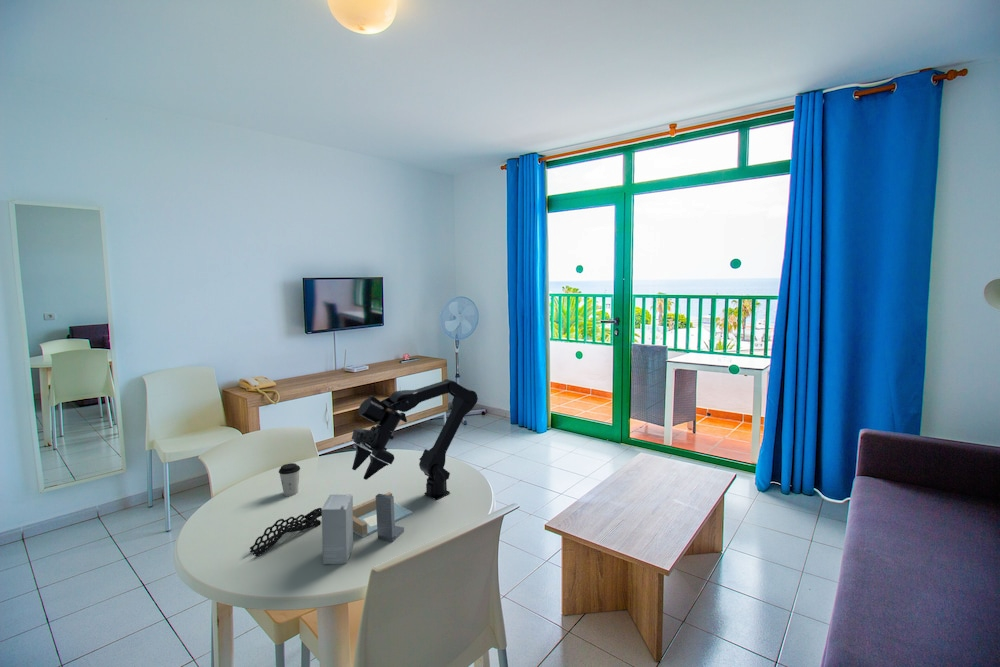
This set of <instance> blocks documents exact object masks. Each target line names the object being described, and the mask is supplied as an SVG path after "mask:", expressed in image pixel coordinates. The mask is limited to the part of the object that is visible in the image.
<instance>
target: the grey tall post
mask: <svg viewBox="0 0 1000 667" xmlns="http://www.w3.org/2000/svg"><path fill="white" fill-rule="evenodd" d="M384 494H385V493H384ZM384 494H383V493H378V494H376V495H375V498H376V514H377V531H376V532H377V539H378V540H382V541H386V542H391V543H393V542H394V541H395V540H396V539H398V538H399V537H400V536H401V535H402V534H403V533H404V532H405V527H404V526H402V527H401V526H398V525H396V522H395V517H394V503H395V500H394V499H395V498H394V495H392V496H389V495H384Z"/></svg>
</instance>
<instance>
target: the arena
mask: <svg viewBox="0 0 1000 667" xmlns="http://www.w3.org/2000/svg"><path fill="white" fill-rule="evenodd" d="M384 495H389V496H393V493H392V492H391V491H388V492H386V493H384ZM412 514H413V511H411V510H410V509H408V508H406V507H404V506H402V505H400V504H399V503H398V504H397V503H395V502H394V517H395V523H396V522H398V521H400V520H402V519H404V518H406V517H407V516H410V515H412ZM375 532H377V514H376V497H375V498H371V499H369V500H367V501H364V502H362V503H360V504H357V505H355V506H353V534H356V535H358V536H359V537H361V538H365V537H367V536H370V535H371V534H373V533H375Z"/></svg>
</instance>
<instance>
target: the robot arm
mask: <svg viewBox="0 0 1000 667" xmlns="http://www.w3.org/2000/svg"><path fill="white" fill-rule="evenodd" d="M446 394H449V395H451V396H452V397H453V398H452V404H451V411H450V413H449V414H448V416H447V419H446V421H445V423H444V424H443V426H442V429H440V430H441V431H440V432H439V434H438V436H437V438H436V440H435V442H434V443H433V445H432V447H431V448H430V449H429V450H428V449H426V448H424V450H423V453H422V455H421V456H420V458H419V459H418V460H419V463H418V466H419V469H420V471H421V472H422V473H423V474H424V475H425V476H427V478H426V484H425V486H426V487H425V489H426V490H425V492H424V493H423V494H425V495H424V496H427V497H429V498H432V499H433V500H439V499H441V498H444V497H445V496H447V495H449V494H451V492H450V491H449V490H448V489H447V486H448V485H447V480H449V479H450V475H451V473H450V472H449V471H448V470H447V469H445V465H446V454H447V452H448V449H449V447H450V445H451V444H452V442H453V440H454V437H455V435H456V433H457V432H458V429H459V427H460V425H461V424H462V422H463V419H464V418H465V416H466V415H467V414H469V413H470V412H471V411H472V410H473V409H474V407H475V406H476V404H477V403H478V400H479V398H478V394H477V392H476V391H475V390H473V389H472V390H471V389H469V388H465V387H464V386H462V385H461V384H459V383H457V382H456V381H455V380H452V379H448V378H447V379H444V380H442V381H439V382H435V383H432V384H430V385H426V386H423V387H420V388H416V389H404V390H396V391H393V392H392V393H391V395H390V396H388V397H385V398H384V399H382V400H379V399H378V398H377V397H375V396H373V395H371V394H370V395H369V397H368V398H365V399H364V400H363V402H362V403H361V404H360V405H359V408H358V411H357V414H358V416H360V417H363V418H365V419H367V420H369V421H370V422H373V423H377V424H376V426H374V425H373V426H371V427H370V429H365V428H353V431H352V436H351V440H353V446H354V447H355V456H354V460H353V465H352V467H351V469H352V470H353V471H356V470H357V469H358V468H359V467H360V466H361V465H362V464H363V463H364V462H365V461H366V460H367V459H368V458H369V459H370V462H369V463H368V466H367V469H366V471H365V473H364V475H363V480H365V481H367V480H369V479H370V478H371V477H372V476H374V475H375V474H376V473H378V472H379V471H381V469H383V468H385V467H386V466H389V465H393V462H394V460H395V454H393V453H392V452H390V451H388V448H386V446H387V445H388V443H389V442H390V440H393V439H394V438H395V436H393V434H394V432H395V430H396V429H397V427H398V425H399V423H400V422H401V421H402V422H404V423H407V422H408V420H407V417H406V412H409V411H411V410H412V409H415V408H416V407H417V406H418V405H419V404H421V403H422V402H426V401H428V400H431V399H435V398H437V397H441V396H443V395H446ZM387 409H388V410H387ZM448 493H449V494H448ZM446 494H447V495H446ZM444 495H445V496H444Z"/></svg>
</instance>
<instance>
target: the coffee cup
mask: <svg viewBox="0 0 1000 667" xmlns="http://www.w3.org/2000/svg"><path fill="white" fill-rule="evenodd" d="M300 470H301V467H300V466H299V465H298V464H297V463H295V462H294V463H293V462H292V463H286V464H283V465H281V466H280V468H279V470H278V474H279V478H280V481H281V487H282V491H283V495H284V497H292V495H293V496H296V495H297V494H298V493H299V484H300Z"/></svg>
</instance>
